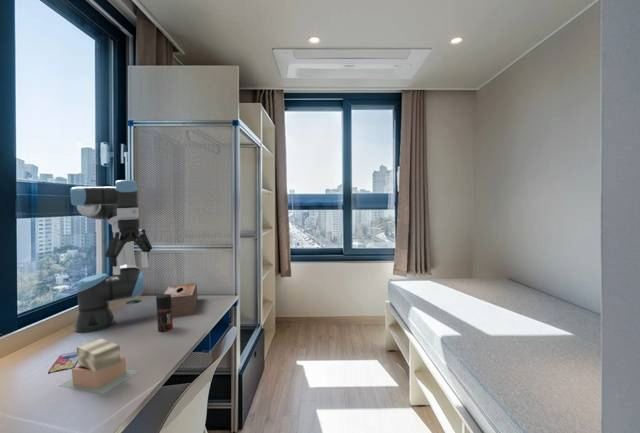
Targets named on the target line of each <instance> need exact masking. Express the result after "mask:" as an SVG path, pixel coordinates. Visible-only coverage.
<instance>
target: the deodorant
mask: <svg viewBox="0 0 640 433" xmlns="http://www.w3.org/2000/svg"><path fill="white" fill-rule="evenodd" d="M155 303H156V317H157V318H156V319H157V332H159V333H166V332H169V331H171V330H173V329H174V327H173V326H174V324H173V317H172V305H171V294H164V293H163V294H159V295H157V296H155Z"/></svg>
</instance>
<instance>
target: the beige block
mask: <svg viewBox="0 0 640 433" xmlns="http://www.w3.org/2000/svg"><path fill="white" fill-rule="evenodd" d="M76 352H77V361H78V362H77V365H82V366H84V367H86V368H88V369H90V370H92V371H94V372H96V373H97V372H100V371H102V370H104V369H107V368H109V367H111V366H114V365H116V364H118V363H121V357H122V356H121V345H119V344H117V343H115V342H111V341H108V340H107V339H103V338H98V339H95V340H93V341H92V340H91V341H89V342H86V343H83V344H80V345H78V346H76Z"/></svg>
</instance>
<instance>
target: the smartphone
mask: <svg viewBox="0 0 640 433" xmlns="http://www.w3.org/2000/svg"><path fill="white" fill-rule="evenodd" d="M77 365H78V361H77V351H73V352H68V353H64V354H61V355H59V357H58V358H57V359H56V360H55V362H54V363H53V365H51V367H50V369H49V370H48V372H47V373H48V375H49V374H53V373H58V372H62V371H67V370H72V369H73V368H75V367H77Z"/></svg>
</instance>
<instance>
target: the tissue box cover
mask: <svg viewBox="0 0 640 433" xmlns="http://www.w3.org/2000/svg"><path fill="white" fill-rule="evenodd" d="M197 286H198V285H197V282H194V283H183V284H182V283H181V284H174V285H172V284H171V285H169V286H167V288H166V290H165V291H164V293H163V294H171V305H172V318H174V316H175V317H182V315H183V316H189V315H190V316H191V315H194V312H195V309H196V305H197V302H198V287H197Z"/></svg>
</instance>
